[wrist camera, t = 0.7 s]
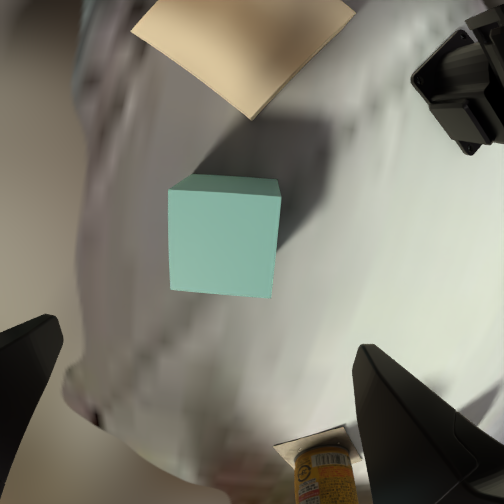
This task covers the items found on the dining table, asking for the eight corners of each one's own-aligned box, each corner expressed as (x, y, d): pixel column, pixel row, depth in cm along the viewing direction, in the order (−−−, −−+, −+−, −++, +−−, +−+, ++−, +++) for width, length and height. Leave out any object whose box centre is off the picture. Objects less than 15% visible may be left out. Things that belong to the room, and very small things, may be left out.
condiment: (301, 476, 30) (307, 563, 19) (272, 445, 28) (273, 550, 16) (361, 458, 29) (379, 547, 18) (342, 424, 26) (363, 533, 15)
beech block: (239, -40, 13) (234, -67, 10) (340, 31, 15) (356, 12, 12) (152, 45, 16) (130, 31, 12) (252, 121, 17) (250, 118, 14)
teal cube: (277, 179, 18) (281, 196, 14) (269, 258, 20) (270, 298, 16) (192, 173, 18) (168, 189, 14) (191, 252, 20) (170, 289, 16)
